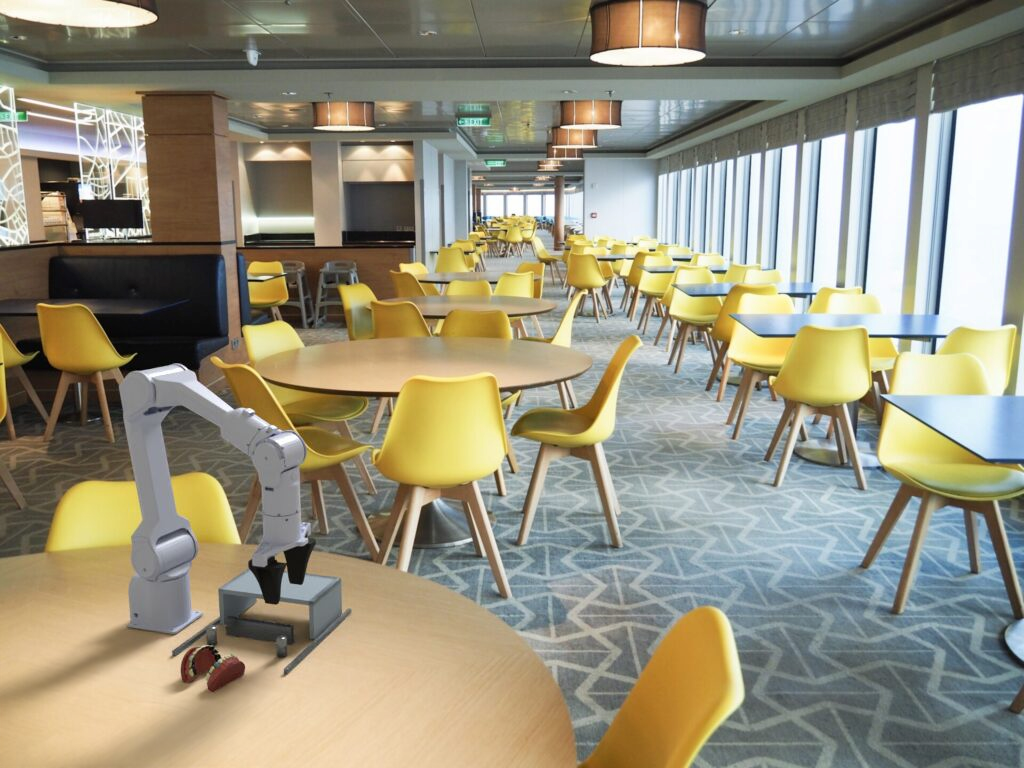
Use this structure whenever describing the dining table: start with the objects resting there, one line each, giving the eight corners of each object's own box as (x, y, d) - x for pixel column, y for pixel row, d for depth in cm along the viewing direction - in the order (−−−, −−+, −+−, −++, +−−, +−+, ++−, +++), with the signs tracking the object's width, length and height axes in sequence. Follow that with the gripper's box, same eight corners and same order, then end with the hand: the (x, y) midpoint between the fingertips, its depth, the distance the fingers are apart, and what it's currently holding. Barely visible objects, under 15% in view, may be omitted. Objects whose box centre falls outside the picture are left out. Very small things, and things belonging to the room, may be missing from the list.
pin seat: (172, 655, 137) (171, 638, 136) (249, 598, 158) (248, 583, 157) (287, 674, 132) (286, 656, 131) (351, 613, 153) (351, 597, 152)
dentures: (218, 665, 125) (174, 651, 129) (218, 696, 126) (175, 681, 130) (250, 649, 131) (208, 635, 135) (251, 678, 131) (209, 664, 136)
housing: (220, 625, 147) (218, 588, 146) (252, 601, 157) (251, 566, 155) (314, 639, 143) (313, 601, 141) (342, 613, 152) (341, 577, 151)
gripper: (281, 528, 127) (284, 615, 129) (326, 498, 141) (328, 578, 143) (238, 523, 128) (242, 609, 131) (287, 494, 142) (290, 573, 145)
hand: (284, 593), depth 137 cm, fingers open, 7 cm apart
